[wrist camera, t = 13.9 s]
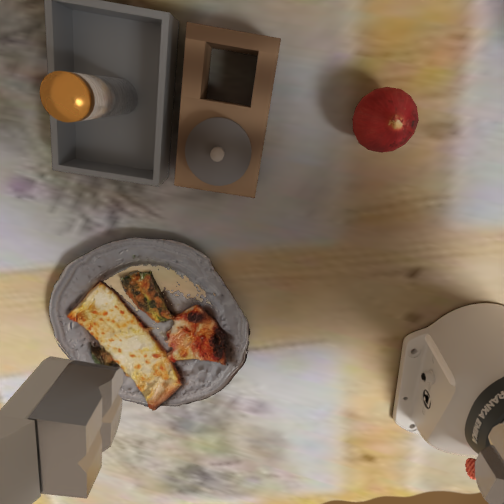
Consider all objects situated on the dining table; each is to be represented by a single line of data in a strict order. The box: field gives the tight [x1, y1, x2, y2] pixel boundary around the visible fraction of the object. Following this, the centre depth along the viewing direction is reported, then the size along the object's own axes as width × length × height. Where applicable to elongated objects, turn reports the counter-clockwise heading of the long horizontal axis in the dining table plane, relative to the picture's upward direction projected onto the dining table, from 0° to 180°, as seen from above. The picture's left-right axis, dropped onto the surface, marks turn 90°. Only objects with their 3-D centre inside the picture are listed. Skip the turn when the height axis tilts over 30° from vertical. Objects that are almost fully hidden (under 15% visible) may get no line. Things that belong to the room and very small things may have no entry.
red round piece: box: [352, 87, 419, 152], centre depth 35 cm, size 6×6×8 cm
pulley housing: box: [174, 22, 281, 198], centre depth 35 cm, size 14×8×8 cm, turn 171°
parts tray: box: [44, 0, 179, 187], centre depth 36 cm, size 15×10×4 cm
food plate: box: [49, 237, 250, 411], centre depth 48 cm, size 25×23×4 cm
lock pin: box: [40, 71, 138, 122], centre depth 32 cm, size 3×3×12 cm
